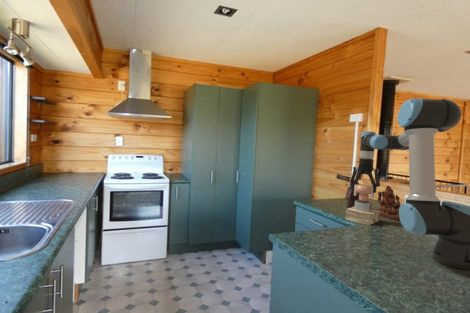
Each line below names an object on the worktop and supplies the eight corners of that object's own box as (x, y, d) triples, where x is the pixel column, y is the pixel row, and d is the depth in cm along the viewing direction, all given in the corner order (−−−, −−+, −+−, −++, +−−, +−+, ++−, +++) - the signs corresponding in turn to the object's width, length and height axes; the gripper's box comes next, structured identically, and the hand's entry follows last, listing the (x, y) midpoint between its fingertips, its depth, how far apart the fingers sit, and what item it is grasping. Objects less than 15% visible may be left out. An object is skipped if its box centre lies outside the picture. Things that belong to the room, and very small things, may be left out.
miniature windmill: (332, 207, 197) (335, 164, 195) (335, 204, 207) (338, 163, 204) (372, 213, 185) (375, 167, 183) (373, 209, 195) (376, 165, 193)
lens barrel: (367, 212, 161) (367, 203, 161) (352, 209, 167) (353, 201, 167) (373, 210, 167) (373, 202, 167) (358, 207, 173) (359, 199, 173)
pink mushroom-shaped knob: (368, 203, 161) (369, 187, 160) (352, 200, 167) (353, 185, 167) (374, 201, 167) (375, 186, 166) (358, 198, 174) (359, 183, 173)
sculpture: (406, 220, 170) (409, 187, 169) (396, 221, 167) (399, 187, 166) (382, 213, 186) (385, 182, 184) (373, 214, 183) (375, 183, 181)
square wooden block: (369, 225, 158) (370, 214, 158) (345, 219, 168) (345, 209, 168) (379, 220, 168) (379, 210, 167) (355, 215, 178) (356, 205, 177)
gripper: (389, 159, 160) (385, 199, 162) (350, 156, 176) (348, 192, 177) (384, 160, 155) (380, 201, 157) (345, 156, 170) (342, 194, 172)
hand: (363, 196), depth 167 cm, fingers closed on pink mushroom-shaped knob, 9 cm apart
